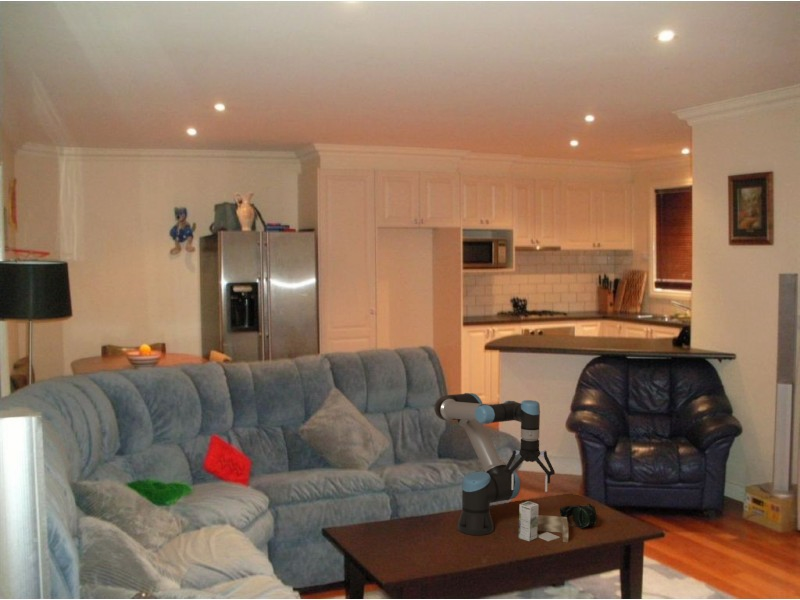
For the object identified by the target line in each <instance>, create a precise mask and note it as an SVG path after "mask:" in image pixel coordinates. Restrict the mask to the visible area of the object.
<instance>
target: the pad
mask: <svg viewBox="0 0 800 600" xmlns="http://www.w3.org/2000/svg"><path fill="white" fill-rule="evenodd" d="M537 538H538V539H542V540H544V541H546V542H551V541H553V540H557V539H560V538H561V537H560V536H558V535H555V534H553V533H551V532H549V531H545V532H543V533H540V534H539V533H538V537H537Z"/></svg>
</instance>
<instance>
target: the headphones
mask: <svg viewBox="0 0 800 600" xmlns="http://www.w3.org/2000/svg"><path fill="white" fill-rule="evenodd" d="M586 504H587V503H586ZM595 508H596V507H595V506H593V505H591V503H588V504H587V505H585V504H584V505H583V504H582V505H580V504H577V505H576V504H574V505H565V506H563V507H560V509H559V514H560V517H567V522H568V525H570V526H572V527H574V528H580V529H585V528H588V527H596V525H597V523H598V514H597V511H596V509H595ZM569 517H572V520H573V523H574V524H575V525H573V524H572V523H570V522H569Z"/></svg>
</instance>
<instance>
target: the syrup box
mask: <svg viewBox="0 0 800 600" xmlns="http://www.w3.org/2000/svg"><path fill="white" fill-rule="evenodd" d="M518 505H519V511H518V513H519V514H518V515H519V516H518V535H517V536H518V539H520V540H523V541H527V542H532V541H534V540H536V539H538V538H539V537H538V535H539V533H538V532H539V531H538V515H539V507H540V506H539V504H538V503H536V502H533V501H527V500H526V501H525V502H521V503H519V504H518Z"/></svg>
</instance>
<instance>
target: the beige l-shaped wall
mask: <svg viewBox="0 0 800 600" xmlns="http://www.w3.org/2000/svg"><path fill="white" fill-rule="evenodd" d="M568 522H569V521H568ZM568 522H567V517H561V516H555V515H539V514H538V532H549V533H551V532H552V533H561V536H562V542H563V543H569V523H568Z"/></svg>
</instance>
